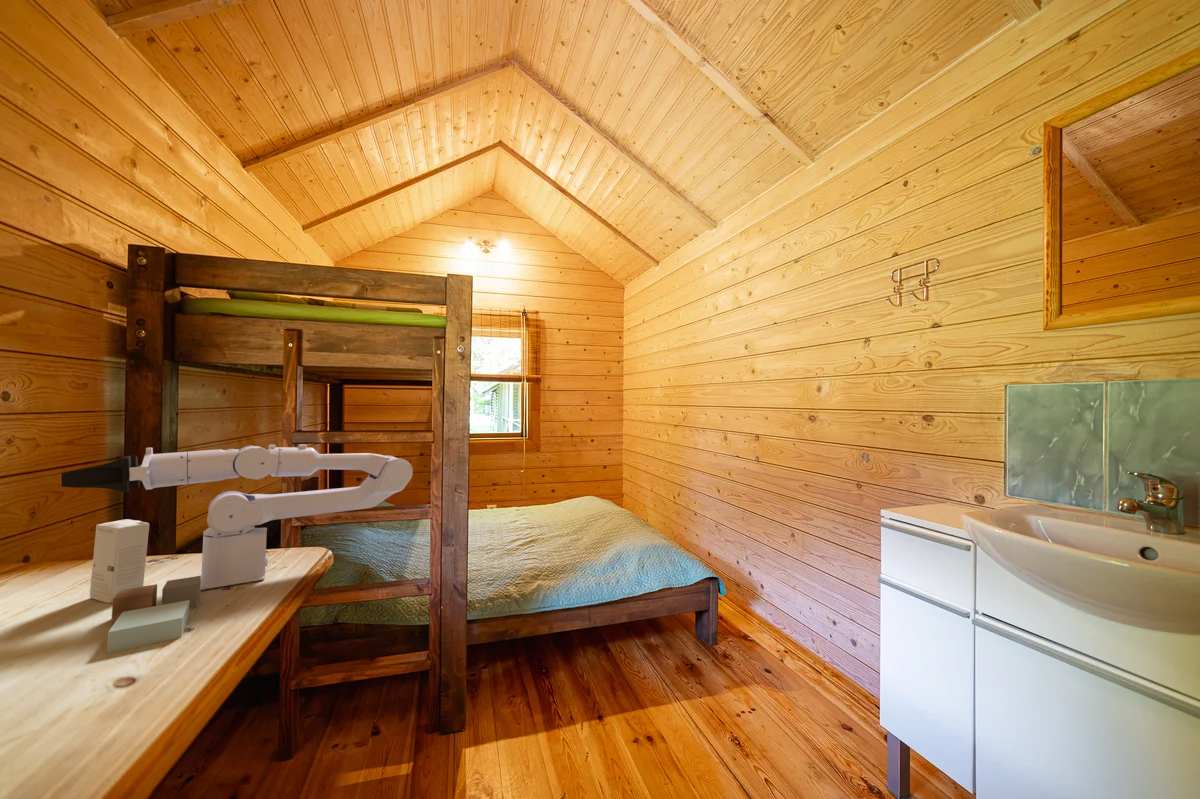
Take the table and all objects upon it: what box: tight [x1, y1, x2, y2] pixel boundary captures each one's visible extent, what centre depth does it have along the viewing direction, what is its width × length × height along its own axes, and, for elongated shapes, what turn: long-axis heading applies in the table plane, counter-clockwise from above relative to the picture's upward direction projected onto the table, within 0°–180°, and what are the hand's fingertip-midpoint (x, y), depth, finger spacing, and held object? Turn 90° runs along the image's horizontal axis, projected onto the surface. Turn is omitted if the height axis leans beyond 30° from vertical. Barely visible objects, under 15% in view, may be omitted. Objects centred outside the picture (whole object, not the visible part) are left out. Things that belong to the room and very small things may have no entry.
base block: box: [106, 600, 190, 654], centre depth 61 cm, size 7×7×3 cm
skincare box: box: [89, 518, 150, 604], centre depth 73 cm, size 6×4×12 cm
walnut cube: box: [110, 583, 158, 628], centre depth 66 cm, size 4×4×4 cm
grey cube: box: [161, 575, 201, 611], centre depth 70 cm, size 4×4×4 cm
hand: (68, 478), depth 69 cm, fingers open, 7 cm apart
